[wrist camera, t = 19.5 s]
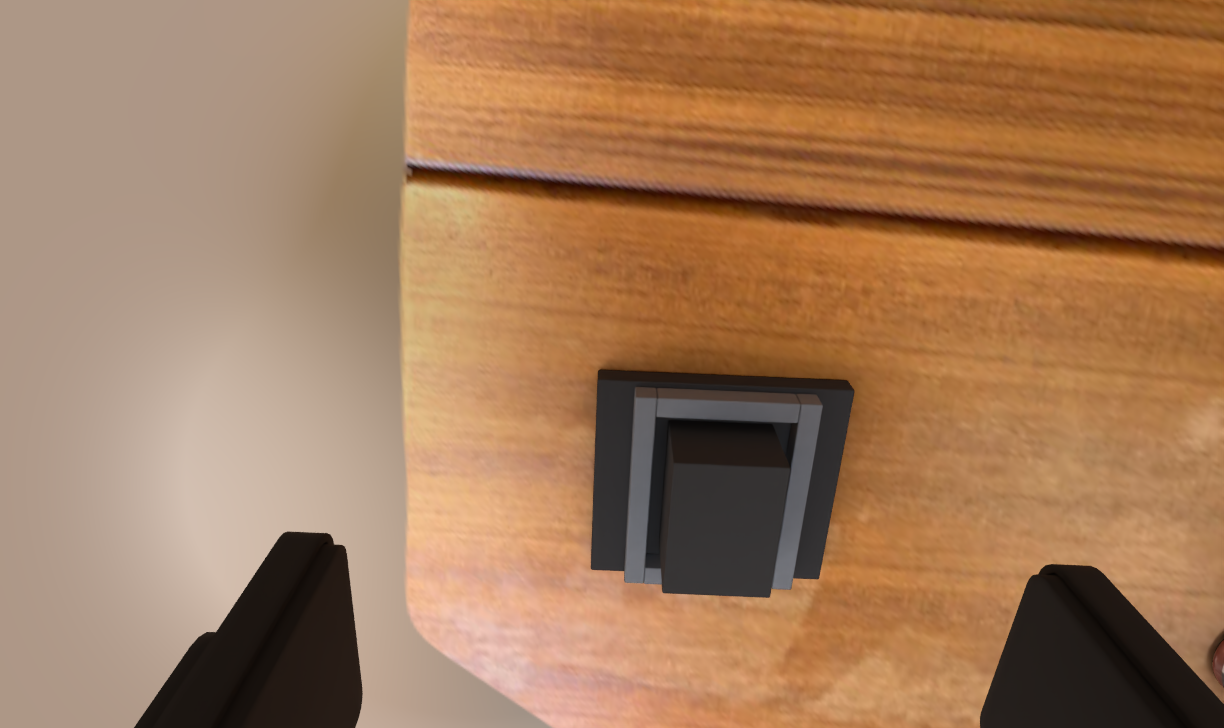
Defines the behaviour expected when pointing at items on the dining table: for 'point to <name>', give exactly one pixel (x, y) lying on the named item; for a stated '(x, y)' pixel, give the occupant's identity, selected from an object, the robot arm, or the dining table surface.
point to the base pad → (648, 400)
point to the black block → (721, 508)
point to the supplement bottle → (1219, 663)
